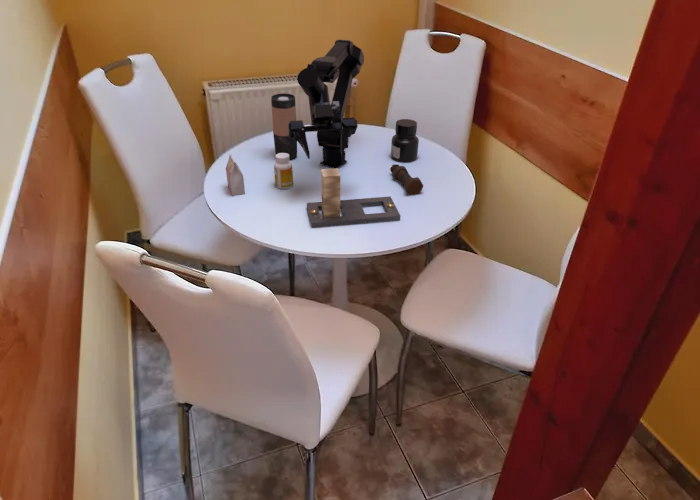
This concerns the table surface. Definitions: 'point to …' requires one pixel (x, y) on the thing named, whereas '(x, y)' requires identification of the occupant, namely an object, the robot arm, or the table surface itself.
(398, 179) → the bolt
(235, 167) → the tea bag
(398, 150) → the ink bottle
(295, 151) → the travel mug
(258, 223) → the table surface
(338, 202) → the birch peg
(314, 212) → the strike plate
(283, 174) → the supplement bottle
